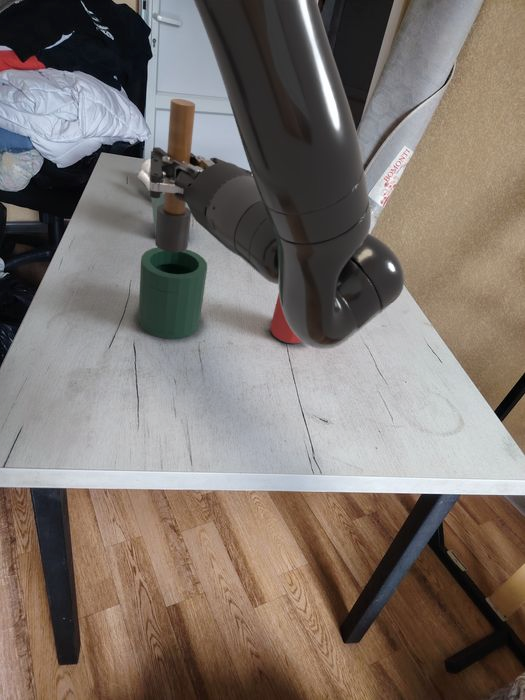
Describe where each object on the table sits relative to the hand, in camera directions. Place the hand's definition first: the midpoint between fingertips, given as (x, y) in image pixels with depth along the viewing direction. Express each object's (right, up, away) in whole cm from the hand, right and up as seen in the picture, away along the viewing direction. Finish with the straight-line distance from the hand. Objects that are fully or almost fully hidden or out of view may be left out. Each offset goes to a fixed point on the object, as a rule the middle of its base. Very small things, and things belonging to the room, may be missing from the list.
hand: (167, 155), depth 61 cm
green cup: (-3, -20, +18) cm, 27 cm away
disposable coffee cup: (-8, 0, +42) cm, 43 cm away
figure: (-14, +14, +59) cm, 62 cm away
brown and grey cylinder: (0, -10, +5) cm, 11 cm away
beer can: (+16, -22, +22) cm, 35 cm away
